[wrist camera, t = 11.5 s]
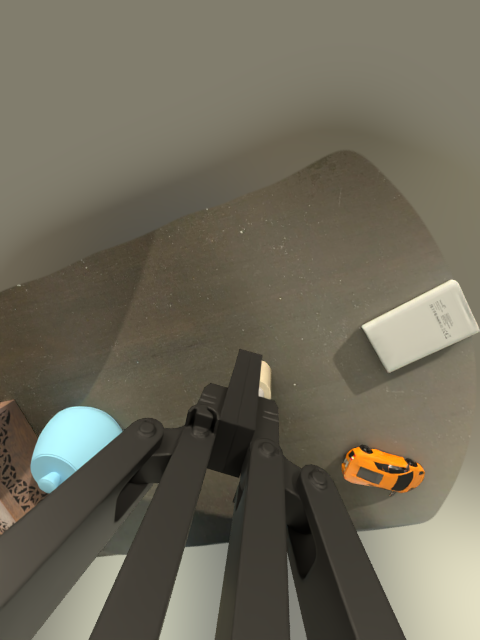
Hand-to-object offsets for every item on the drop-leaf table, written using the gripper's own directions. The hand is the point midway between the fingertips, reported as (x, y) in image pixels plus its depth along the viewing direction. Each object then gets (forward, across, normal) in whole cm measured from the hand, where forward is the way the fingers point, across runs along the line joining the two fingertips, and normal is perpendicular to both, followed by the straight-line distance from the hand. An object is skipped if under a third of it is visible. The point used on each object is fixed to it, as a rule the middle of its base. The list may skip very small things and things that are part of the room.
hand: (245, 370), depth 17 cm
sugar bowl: (+23, -24, -36) cm, 49 cm away
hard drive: (+23, +22, +1) cm, 32 cm away
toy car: (+23, +28, -24) cm, 43 cm away
